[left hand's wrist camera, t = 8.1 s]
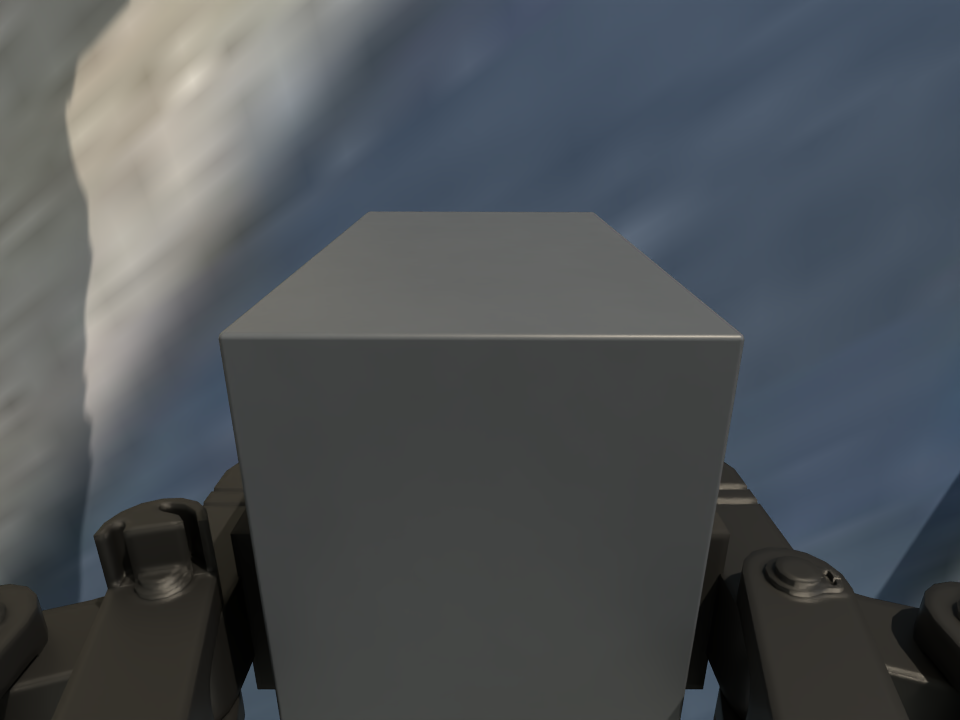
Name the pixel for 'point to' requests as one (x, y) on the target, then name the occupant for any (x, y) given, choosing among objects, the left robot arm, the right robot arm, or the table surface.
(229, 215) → the table surface
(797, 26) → the table surface
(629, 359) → the beam
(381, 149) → the table surface
